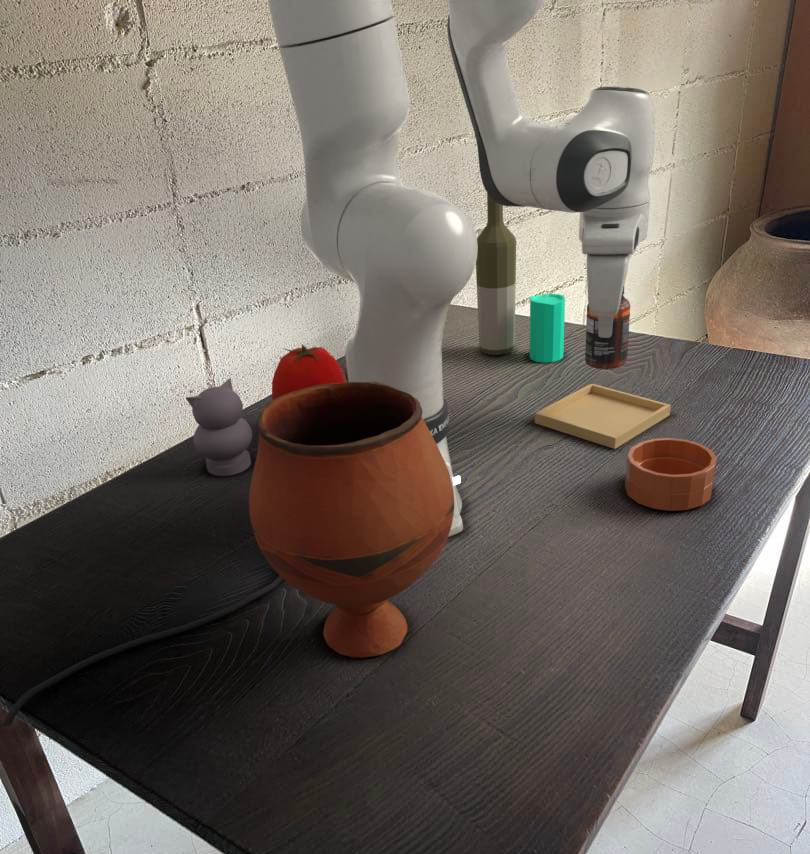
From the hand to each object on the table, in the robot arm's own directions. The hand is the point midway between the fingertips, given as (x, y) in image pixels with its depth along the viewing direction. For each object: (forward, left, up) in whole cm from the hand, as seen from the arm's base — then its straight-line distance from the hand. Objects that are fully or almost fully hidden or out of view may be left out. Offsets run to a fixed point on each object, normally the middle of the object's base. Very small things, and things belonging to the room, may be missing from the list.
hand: (607, 327), depth 116 cm
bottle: (+13, +32, -14) cm, 37 cm away
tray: (0, 0, -14) cm, 14 cm away
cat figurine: (-45, +33, -14) cm, 58 cm away
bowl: (-13, -19, -14) cm, 27 cm away
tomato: (-29, +33, -14) cm, 46 cm away
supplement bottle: (0, 0, -6) cm, 6 cm away
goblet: (-57, -11, -14) cm, 60 cm away
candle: (+16, +23, -14) cm, 31 cm away
